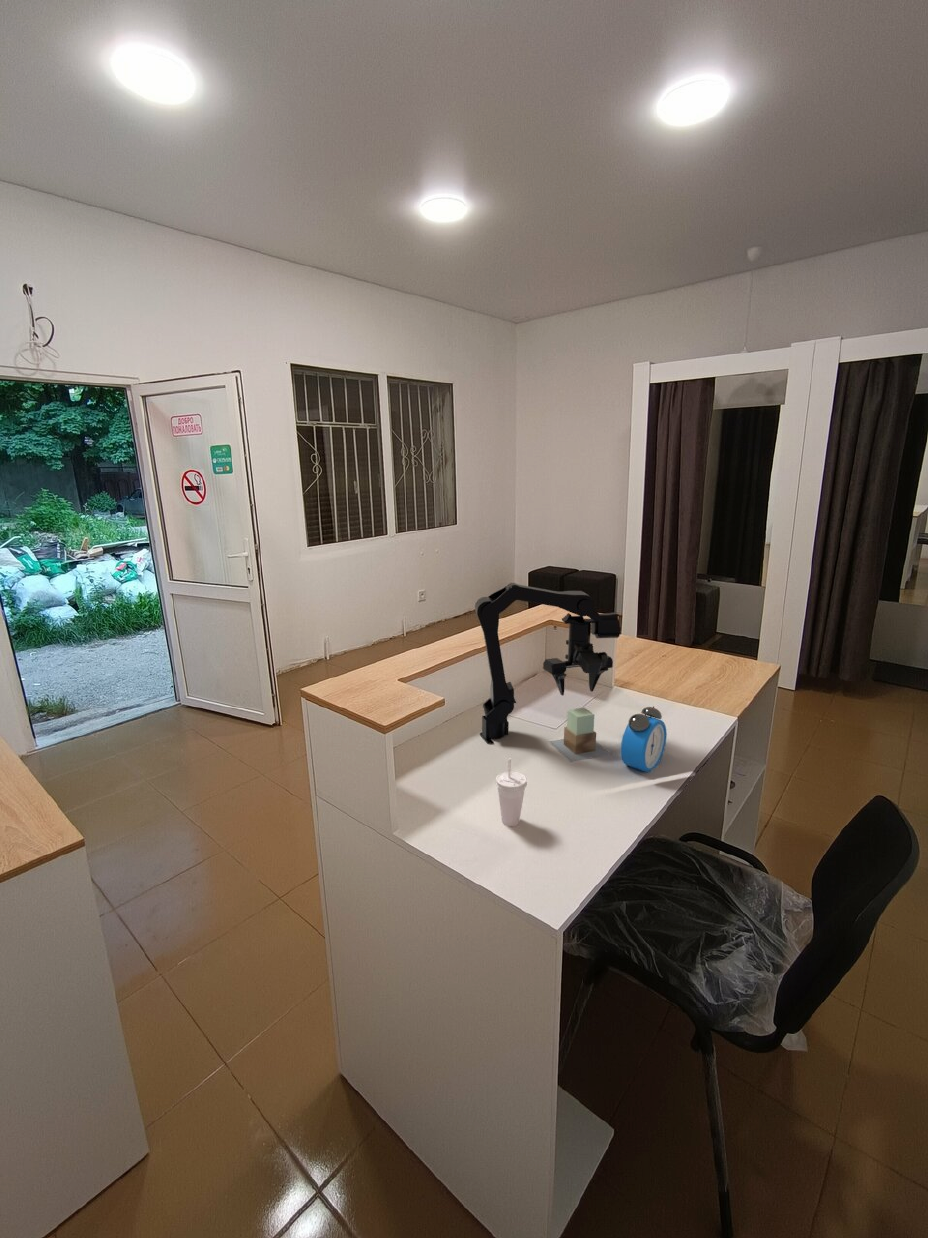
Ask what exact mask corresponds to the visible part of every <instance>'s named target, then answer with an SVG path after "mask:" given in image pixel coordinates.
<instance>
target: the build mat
mask: <svg viewBox="0 0 928 1238" xmlns="http://www.w3.org/2000/svg"><path fill="white" fill-rule="evenodd" d="M548 743H550V745H552V746H553V748H555V749H556V750H557V751H558V752H559V753H560V754H561V755H563V756H564V757H565V758H566V759H567V760H568V761H570V762H576V761H581V760H582V761H583V760H586V759H587V760H589V759H593V758H598V757H604V756H610V755H612V752H610V751H609V750H608V749H606V748H605V747H604V746H602V745H601V744H599V743H598V742H597V741H596V749H595V751H591V752H585V753H580V754H574V753H573V752H572V751H571V750H569V749H568V748H567V747H566V746H565V745H564V738H560V739H555V740H549V741H548Z"/></svg>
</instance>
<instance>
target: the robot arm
mask: <svg viewBox="0 0 928 1238" xmlns="http://www.w3.org/2000/svg"><path fill="white" fill-rule="evenodd" d="M516 601H521V602H522V601H523V602H528V603H534V604H537V605H538V604H539V605H544V606H548V607H549V606H550V607H557V608H559V609H562V610H564V611H567V614H566V615H565V616H563V617H562V618H561V621H562V622H563V623H564V624H567V625H568V639H567V640H565V644H566V645H567V646H568V648H567V649H568V650H567V654H565V659H566V660H564V661H563V660H562V659H559V658H558V657H554V658H545V660H544V661H543V664H542V669H543V670H545V671H546V672H547V673H549V674H551V676H552V677H553V680H554V681H555V684H556V686H557V688H558V689H557V690H558V691H559V694H560V695H561V697H563V696H564V695H565V679H566V677H567V673H566V672H567V669H570V668H578V667H579V668H581V670H582V672H583V673H584V674H588V687H589V691H590V692H594V690H595V688H596V685H597V683H598V681H599V679H600V677H601V675H602V674H603V673H604V672H608V671H609V669H612V668H613V667H614V660H613V658H612V657H611V656H609V655H608V653H606V651H601V652H600V651H599V652H595V651H594V646H593V644H594V643H591V634H592V635H594V636H595V638H596V639H618V638H619V637H620V635H621V629H622V628H621V625H620V624H621V623H620V620H619V614H618V613H617V612H609V613H600V612H598V611H597V609H596V608H595V601H594V599H593V597H592V596H590V595H589V594H588V593H585V592H584V591H582V590H564V591H555V590H550V589H545V588H541V587H540V588H539V587H533V586H529V585H524V584H518V583H517V582H516V583H515V582H510V583H508V584H507V585H505V586H504V587H502V588H500V589H498V590H496V591H494V592H493V593H491V594H489V595H488V596H481V597H480V598H478V599H477V601H476V602H475V603H474V610H475V613H476V616H477V619H478V621H479V622H478V623H480V624H479V625H480V626H481V630H482V632H483V637H484V638H483V639H484V643H485V650H486V655H487V661H488V667H489V673H490V680H491V682H490V695H489V698H488V699H486V701H485V702H484V703H482V708H483V712H484V715H482V716H481V732H480V733H479V735H480V737H481V738H482V739H483V740H484V741H485V742H486V743H487V744H488V745H489V744H495V742H494V741H493V740H500V739H502V738H504V737H505V736H509V731H510V730H509V728H510V727H509V726H510V725H509V721H508V717H509V715H510V714H512V712H513V711H514V709H515V704H517V701H516V698H515V688H514V686H513V684H512V682H511V681H508V682H507V681H506V676H505V675H506V674H505V669H504V663H503V657H502V652H501V644H500V639H499V626H500V625H499V624H500V614H501V613H502V612H504V611H506V609H508V607H509V606H510V605H512V604H513V603H514V602H516ZM570 613H571V614H570ZM572 614H574V615H572ZM585 617H588V618H585Z"/></svg>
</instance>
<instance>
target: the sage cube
mask: <svg viewBox="0 0 928 1238" xmlns="http://www.w3.org/2000/svg"><path fill="white" fill-rule="evenodd" d="M566 715H567V716H566V717H567V718H566V727H567V728H568V729H569V730H570V731H572V732H573V733H574V734H575V735H582V734H588V733H593V732H595V728H594V727H595V713H593V712H592V711H590V710H588V709H587V708H586V707H578V708H572V709H567V714H566Z"/></svg>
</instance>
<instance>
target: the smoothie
mask: <svg viewBox="0 0 928 1238" xmlns="http://www.w3.org/2000/svg"><path fill="white" fill-rule="evenodd" d="M507 763H508V764H507V771H505V772H501V773H499V774H498V775H496V777H495V784H496V786H497V794H498V801H499V808H500V816H501V823H502V824H503V825H504V826H508V827H515V826H517V825H518V824H519V823H520V820H521V816H522V815H521V813H522V808H523V803H524V795H525V789H526V788H527V785H528V782H527V779H528V778H526V776H525V775H524V774H522V773H520V772H517V771H511V770H512V769H511V766H512V758H511V757H508V758H507Z"/></svg>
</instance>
